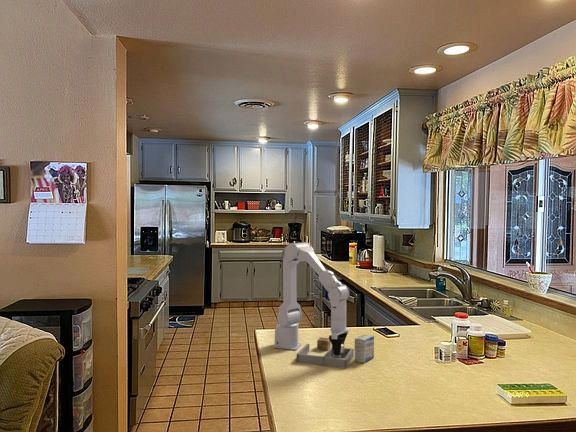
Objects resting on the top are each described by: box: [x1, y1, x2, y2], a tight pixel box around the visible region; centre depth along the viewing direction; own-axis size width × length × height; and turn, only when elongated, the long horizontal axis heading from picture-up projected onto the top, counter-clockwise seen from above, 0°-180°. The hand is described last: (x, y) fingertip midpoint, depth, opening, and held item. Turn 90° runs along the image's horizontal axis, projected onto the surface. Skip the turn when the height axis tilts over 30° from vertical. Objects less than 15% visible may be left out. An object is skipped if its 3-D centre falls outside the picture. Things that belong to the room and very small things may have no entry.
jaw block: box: [316, 337, 331, 352], centre depth 188 cm, size 4×4×4 cm
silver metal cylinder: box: [332, 343, 345, 359], centre depth 173 cm, size 4×4×5 cm
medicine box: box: [354, 334, 375, 364], centre depth 175 cm, size 8×4×9 cm, turn 143°
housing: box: [296, 343, 355, 369], centre depth 174 cm, size 19×14×3 cm
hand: (338, 353), depth 173 cm, fingers closed on silver metal cylinder, 4 cm apart
